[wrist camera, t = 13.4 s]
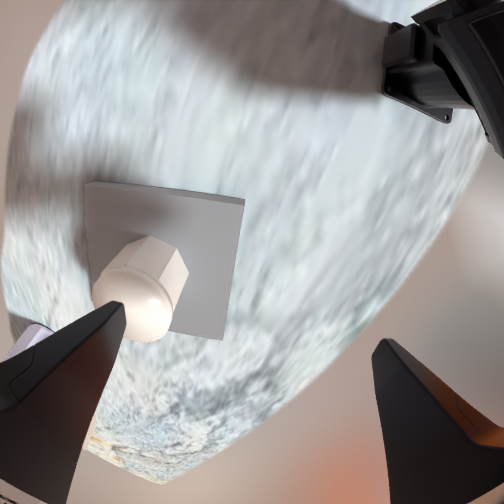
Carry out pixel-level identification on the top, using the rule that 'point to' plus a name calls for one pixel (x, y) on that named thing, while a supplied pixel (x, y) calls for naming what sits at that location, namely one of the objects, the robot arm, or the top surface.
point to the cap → (143, 286)
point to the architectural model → (89, 433)
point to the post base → (171, 243)
